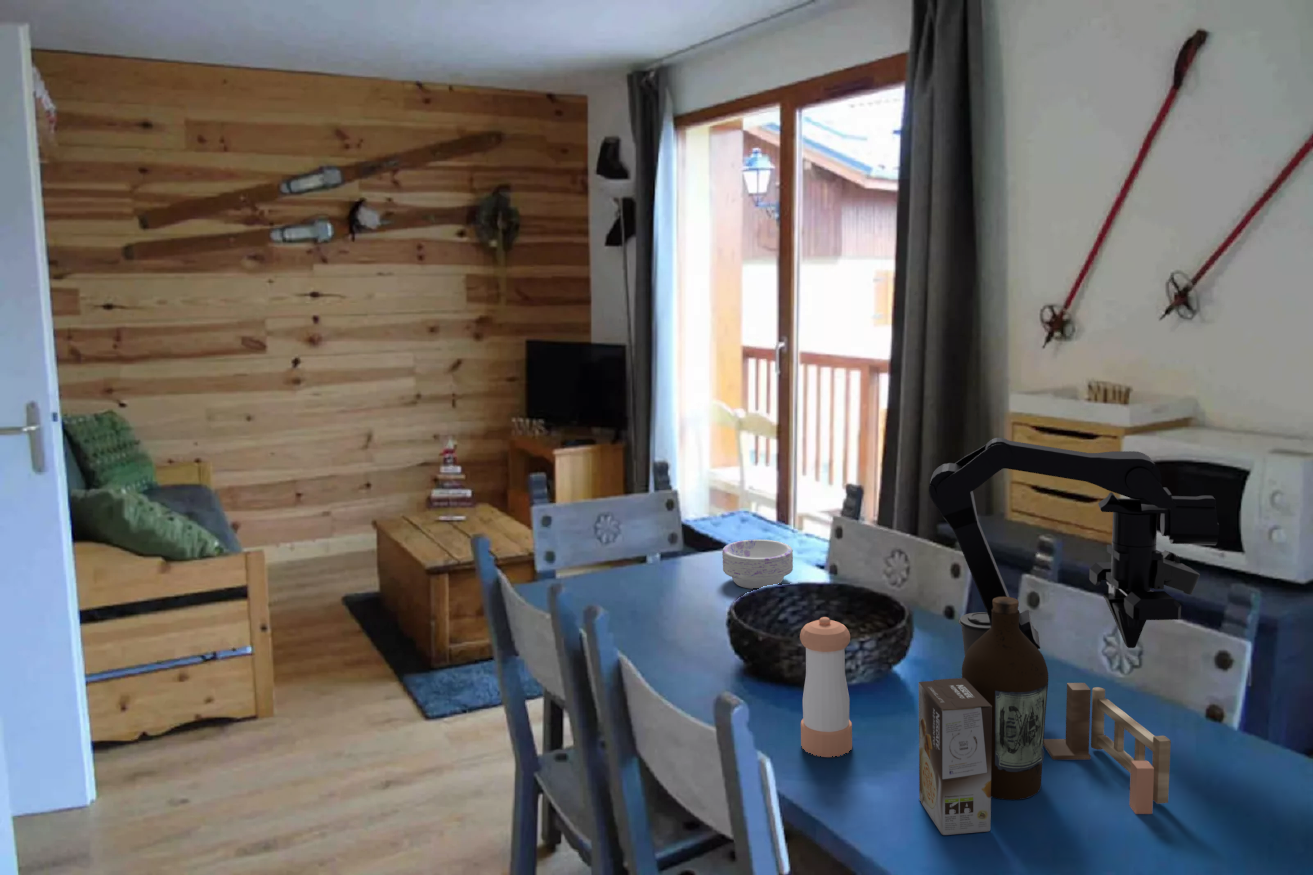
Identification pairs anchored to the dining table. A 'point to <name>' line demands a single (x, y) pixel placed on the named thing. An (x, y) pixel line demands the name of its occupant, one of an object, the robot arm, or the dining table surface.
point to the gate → (1142, 739)
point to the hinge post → (1073, 726)
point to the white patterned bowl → (757, 562)
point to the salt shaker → (825, 690)
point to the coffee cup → (973, 627)
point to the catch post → (1141, 787)
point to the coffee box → (955, 756)
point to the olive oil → (1011, 700)
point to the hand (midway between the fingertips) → (1130, 647)
